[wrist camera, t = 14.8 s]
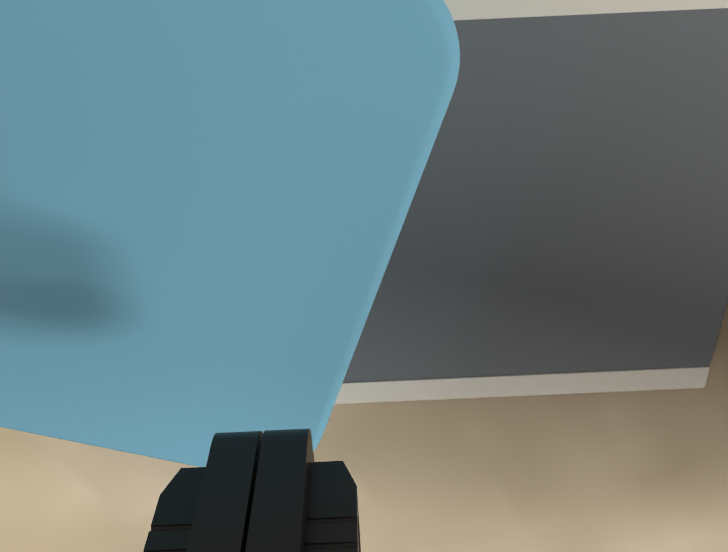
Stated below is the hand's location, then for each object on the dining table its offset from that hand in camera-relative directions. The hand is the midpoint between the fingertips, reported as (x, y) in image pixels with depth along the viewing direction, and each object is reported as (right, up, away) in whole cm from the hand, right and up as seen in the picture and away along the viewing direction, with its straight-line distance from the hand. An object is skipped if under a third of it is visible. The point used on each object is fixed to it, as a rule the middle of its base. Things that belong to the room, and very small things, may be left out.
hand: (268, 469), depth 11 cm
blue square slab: (+2, +4, +5) cm, 6 cm away
